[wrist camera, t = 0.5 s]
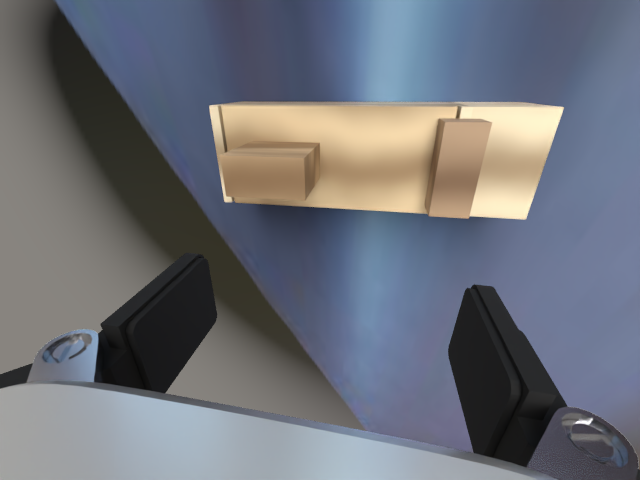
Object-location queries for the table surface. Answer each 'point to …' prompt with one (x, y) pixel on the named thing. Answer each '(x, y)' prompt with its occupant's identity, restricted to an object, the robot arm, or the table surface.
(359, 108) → the lid
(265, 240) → the table surface
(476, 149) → the brown wooden block
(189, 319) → the robot arm
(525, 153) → the light wooden long piece
